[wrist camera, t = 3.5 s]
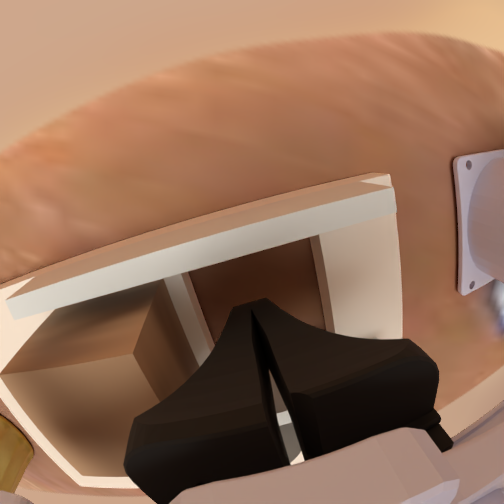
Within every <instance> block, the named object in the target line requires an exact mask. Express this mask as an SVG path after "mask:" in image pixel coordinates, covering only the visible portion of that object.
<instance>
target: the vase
mask: <svg viewBox="0 0 504 504" xmlns="http://www.w3.org/2000/svg"><path fill="white" fill-rule="evenodd" d="M33 455H34V453H33V449H32V446H31V445H30V443H29V442H28V440H27V439H26V438H25V436H24V435H23V434H22V433H21V432H20V431H19V430H18V429H17V428H16V427H15V426H14V425H13V424H12V423H11V422H9V421H8V420H7V419H5V418H4V417H3V416H1V415H0V491H1V490H3V491H6V492H10V493H13V494H14V492H15V490H16V488H17V486H18V484H19V482H20V480H21V478H22V476H23V474H24V472H25V469H26V467H27V466H28V464H29V462H30V461H31V459H32V458H33Z"/></svg>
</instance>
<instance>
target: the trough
mask: <svg viewBox="0 0 504 504" xmlns="http://www.w3.org/2000/svg"><path fill="white" fill-rule="evenodd" d="M396 212H397V207H396V200H395V193H394V187H390V186H384V185H378V184H372V183H366V182H359V181H358V182H353V183H349V184H345V185H341V186H337V187H332V188H328V189H324V190H320V191H316V192H312V193H308V194H304V195H300V196H296V197H292V198H288V199H285V200H281V201H277V202H273V203H269V204H266V205H262V206H258V207H254V208H251V209H247V210H243V211H240V212H236V213H233V214H229V215H225V216H222V217H218V218H215V219H211V220H208V221H204V222H201V223H198V224H194V225H191V226H187V227H184V228H181V229H177V230H174V231H171V232H167V233H164V234H161V235H158V236H154V237H151V238H148V239H145V240H142V241H138V242H135V243H132V244H129V245H126V246H123V247H120V248H116V249H113V250H110V251H107V252H104V253H101V254H98V255H95V256H92V257H89V258H86V259H83V260H80V261H78V262H75V263H72V264H69V265H66V266H63V267H60V268H57V269H55V270H52V271H49V272H46V273H43V274H41V275H38V276H36V277H34V278H33V279H32V280H30V281H29V282H28V283H26V284H25V285H24V286H22V287H21V288H20V289H19V290H17V291H16V292H15V293H13V294H12V295H11V296H10V297H8V298H7V299H6V300H5V302H6V304H7V306H8V308H9V310H10V312H11V314H12V317H13V319H14V320H17V319H21V318H25V317H28V316H32V315H35V314H39V313H42V312H46V311H49V310H53V309H57V308H60V307H64V306H67V305H71V304H74V303H78V302H81V301H85V300H89V299H92V298H96V297H99V296H103V295H106V294H110V293H113V292H117V291H121V290H124V289H128V288H131V287H135V286H138V285H142V284H145V283H149V282H152V281H156V280H159V279H163V278H167V277H170V276H174V275H177V274H181V273H184V272H188V271H191V270H195V269H198V268H202V267H205V266H209V265H213V264H216V263H220V262H223V261H227V260H230V259H234V258H237V257H241V256H244V255H248V254H251V253H255V252H258V251H262V250H265V249H269V248H273V247H276V246H280V245H283V244H287V243H290V242H294V241H297V240H301V239H304V238H308V237H311V236H315V235H318V234H322V233H325V232H329V231H332V230H336V229H339V228H343V227H346V226H350V225H353V224H357V223H360V222H364V221H367V220H371V219H375V218H378V217H382V216H385V215H389V214H392V213H396ZM373 339H378V338H377V337H375V338H373ZM270 378H271V384H272V390H273V396H274V402H275V408H276V414H277V419H278V423H279V426H281V425H284V424H288V423H291V422H292V421H291V418H290V416H289V413H288V410H287V408H286V406H285V404H284V402H283V399H282V397H281V395H280V393H279V390H278V388H277V386H276V384H275V381H274V379H273V377H272V374H270Z"/></svg>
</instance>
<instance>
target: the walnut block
mask: <svg viewBox="0 0 504 504" xmlns="http://www.w3.org/2000/svg"><path fill="white" fill-rule="evenodd" d="M198 369H199V365H198V362H197V360H196V358H195V356H194V353H193V351H192V349H191V346H190V344H189V342H188V339H187V337H186V335H185V332H184V330H183V327H182V325H181V322H180V320H179V318H178V315H177V313H176V310H175V308H174V305H173V302H172V300H171V297H170V295H169V292H168V289H167V287H166V284H165V281H164V279H159V280H156V281H152V282H149V283H145V284H142V285H138V286H135V287H131V288H128V289H124V290H121V291H117V292H113V293H110V294H106V295H103V296H99V297H96V298H92V299H89V300H85V301H81V302H78V303H74V304H71V305H67V306H64V307H60V308H57V309H55V310H54V311H53V312H52V313H51V314H50V315H49V316H48V317H47V318H46V320H45V321H44V322H43V323H42V324H41V325H40V326H39V327H38V328H37V330H36V331H35V332H34V333H33V334H32V335H31V336H30V337H29V339H28V340H27V341H26V342H25V343H24V344H23V346H22V347H21V348H20V349H19V350H18V352H17V353H16V354H15V355H14V356H13V358H12V359H11V360H10V361H9V363H8V364H7V365H6V366H5V367H4V369H3V370H2V371H1V373H0V378H1V379H2V381H3V382H4V384H5V385H6V387H7V388H8V390H9V391H10V393H11V394H12V396H13V397H14V398H15V400H16V401H17V403H18V404H19V405H20V407H21V408H22V409H23V411H24V412H25V413H26V415H27V416H28V417H29V418H30V420H31V421H32V422H33V423H34V425H35V426H36V427H37V428H38V429H39V431H40V432H41V433H42V434H43V435H44V436H45V438H46V439H47V440H48V441H49V442H50V443H51V444H52V445H53V447H54V448H55V449H56V450H57V451H58V452H59V453H60V454H61V455H62V456H63V457H64V458H65V459H66V460H67V461H68V462H69V463H70V464H71V465H72V466H73V467H74V468H75V469H76V470H77V471H78V472H79V473H80V474H81V475H82V476H94V477H128V475H127V474H126V473H125V469H124V466H123V463H124V458H125V453H126V448H127V443H128V438H129V433H130V429H131V426H132V423H133V420H134V418H135V417H137V416H138V415H140V414H142V413H144V412H145V411H147V410H148V409H150V408H152V407H153V406H155V405H157V404H158V403H160V402H161V401H162V400H164V399H165V398H167V397H168V396H169V395H171V394H172V393H173V392H174V391H176V390H177V389H178V388H179V387H180V386H181V385H183V384H184V383H185V382H186V381H187V380H188V379H189V378H190V377H191V376H192V375H193V374H194V373H195V372H196V371H197V370H198Z"/></svg>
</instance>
